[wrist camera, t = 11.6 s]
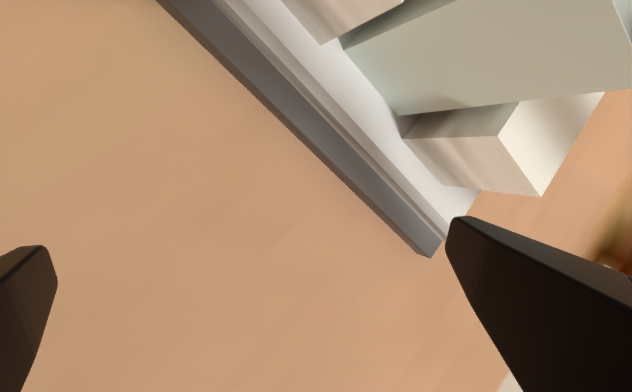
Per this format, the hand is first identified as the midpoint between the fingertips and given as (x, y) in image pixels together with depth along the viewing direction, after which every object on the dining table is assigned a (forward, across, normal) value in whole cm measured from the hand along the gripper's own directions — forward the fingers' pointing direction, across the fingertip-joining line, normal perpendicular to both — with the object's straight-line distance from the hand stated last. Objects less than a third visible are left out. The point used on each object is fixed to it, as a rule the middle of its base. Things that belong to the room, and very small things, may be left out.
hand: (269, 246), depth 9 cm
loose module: (+13, -8, -3) cm, 15 cm away
